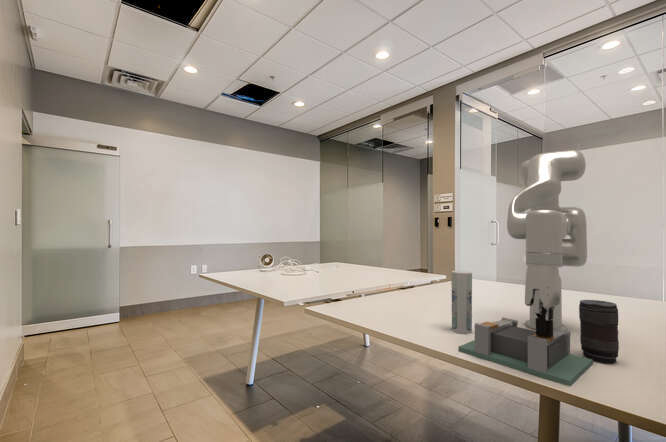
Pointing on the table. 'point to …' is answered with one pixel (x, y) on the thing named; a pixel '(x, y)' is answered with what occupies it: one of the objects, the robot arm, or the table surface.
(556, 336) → the strap
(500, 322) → the strap
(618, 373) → the table surface
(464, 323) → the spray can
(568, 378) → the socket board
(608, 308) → the camera lens
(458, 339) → the table surface
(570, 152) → the robot arm
